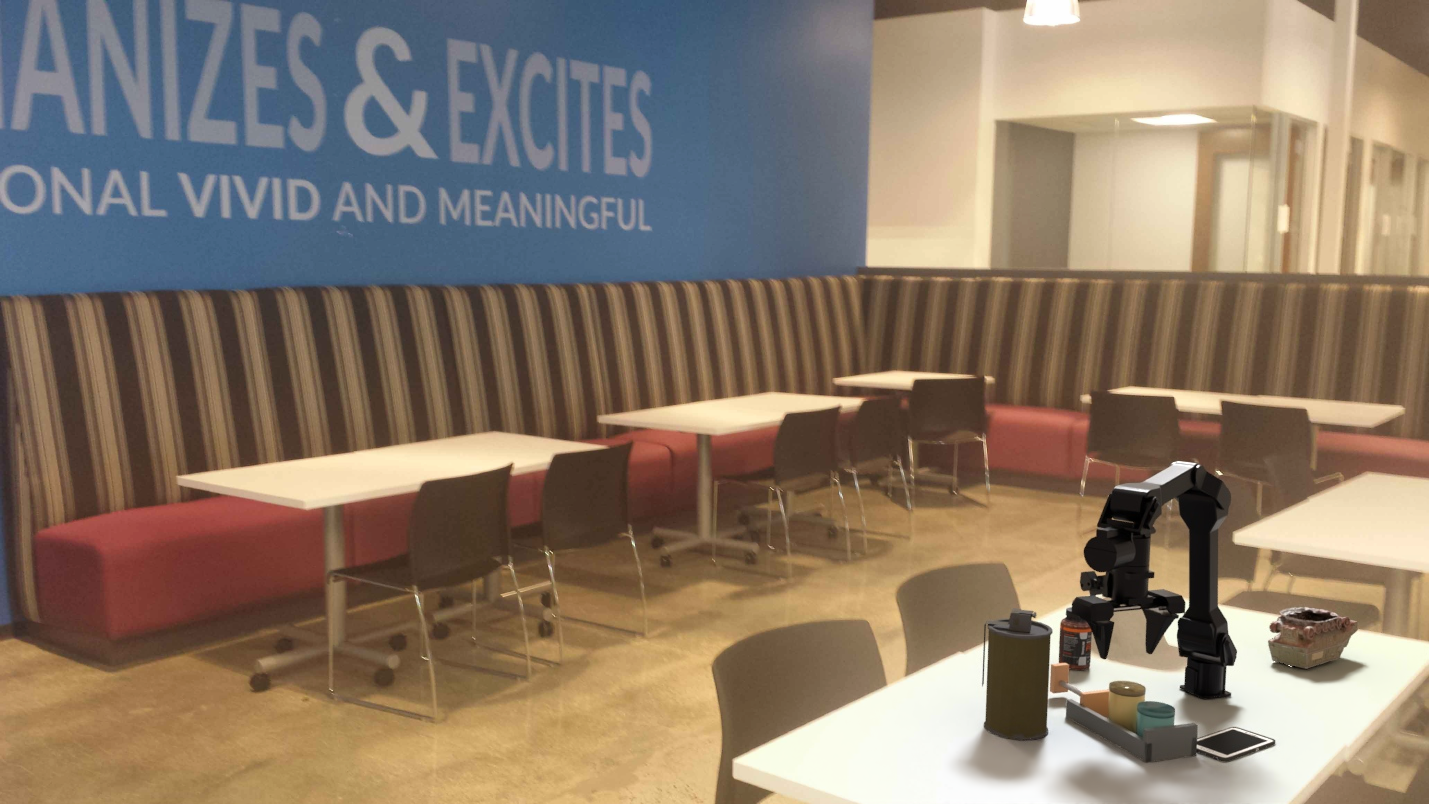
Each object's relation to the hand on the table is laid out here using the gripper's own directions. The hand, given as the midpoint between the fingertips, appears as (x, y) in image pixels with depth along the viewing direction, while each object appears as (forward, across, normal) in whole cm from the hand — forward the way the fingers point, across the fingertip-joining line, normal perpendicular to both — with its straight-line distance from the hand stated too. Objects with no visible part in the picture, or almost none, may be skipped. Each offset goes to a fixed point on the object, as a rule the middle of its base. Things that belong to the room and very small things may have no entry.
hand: (1126, 656), depth 201 cm
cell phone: (+14, -13, +10) cm, 21 cm away
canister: (+13, +16, -7) cm, 22 cm away
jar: (+13, 0, +8) cm, 15 cm away
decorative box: (+13, -63, -22) cm, 68 cm away
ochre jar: (+13, 0, 0) cm, 13 cm away
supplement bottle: (+13, -14, -32) cm, 38 cm away
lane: (+13, 0, +2) cm, 13 cm away
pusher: (+13, 0, -12) cm, 18 cm away
